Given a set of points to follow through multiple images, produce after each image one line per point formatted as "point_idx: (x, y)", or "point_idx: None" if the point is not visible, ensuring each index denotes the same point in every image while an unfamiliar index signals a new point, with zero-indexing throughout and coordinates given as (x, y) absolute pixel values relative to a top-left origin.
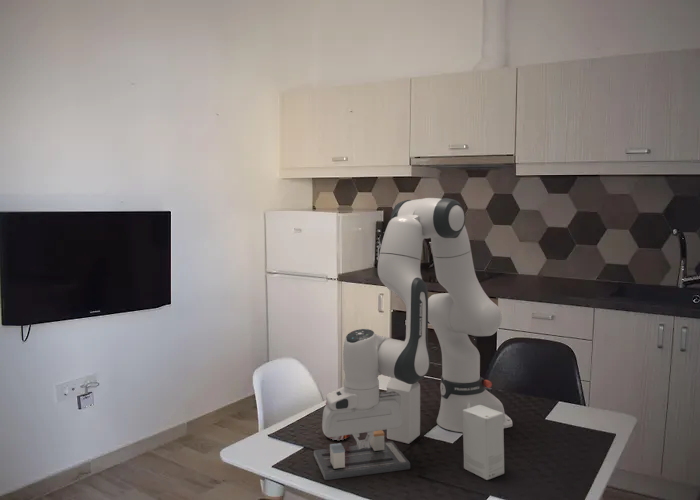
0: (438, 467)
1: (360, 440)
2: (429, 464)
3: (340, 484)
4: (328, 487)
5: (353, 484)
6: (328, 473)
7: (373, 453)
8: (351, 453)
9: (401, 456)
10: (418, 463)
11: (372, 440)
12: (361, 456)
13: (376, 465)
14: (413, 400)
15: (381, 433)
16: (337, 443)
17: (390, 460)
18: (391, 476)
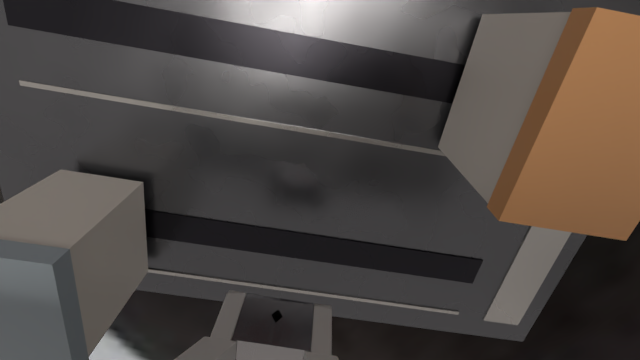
0: (630, 347)
1: (250, 349)
2: (624, 313)
3: (125, 308)
4: None
5: (185, 328)
6: None
7: (417, 158)
8: (264, 82)
9: (546, 268)
10: (590, 286)
11: (483, 117)
12: (314, 164)
13: (344, 297)
14: None
15: (592, 231)
16: (10, 258)
17: (453, 280)
18: (381, 334)
